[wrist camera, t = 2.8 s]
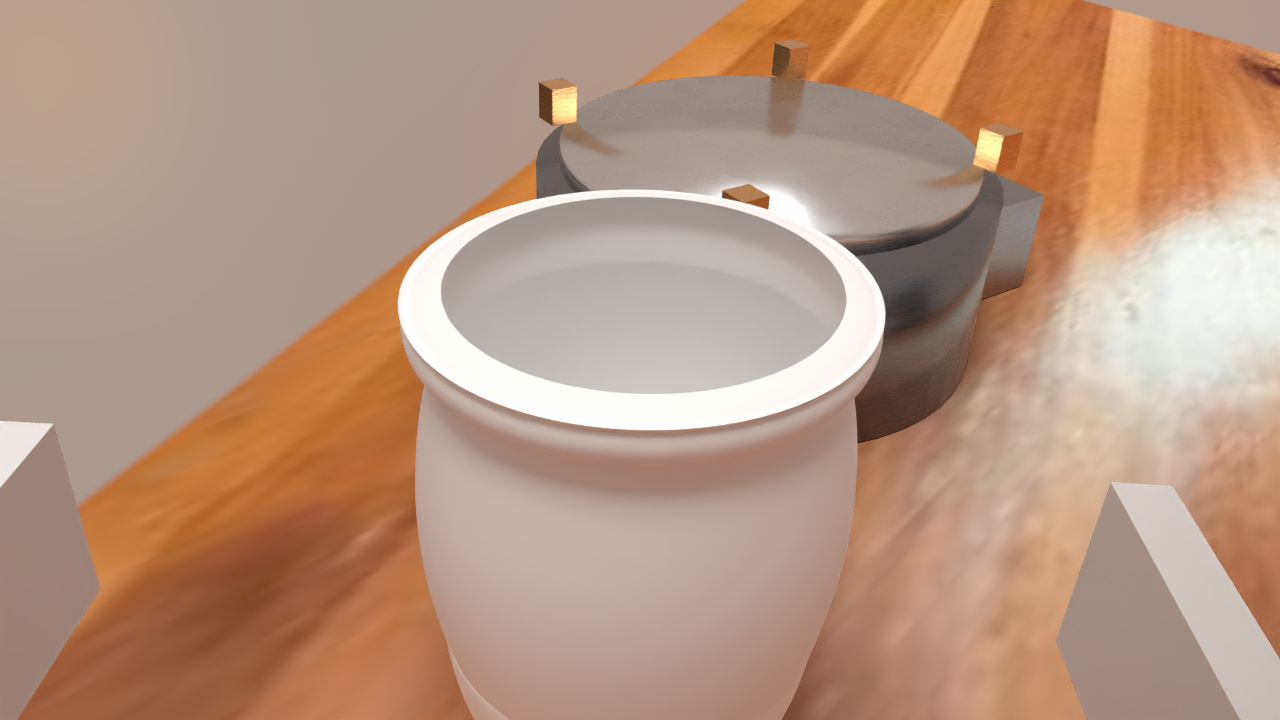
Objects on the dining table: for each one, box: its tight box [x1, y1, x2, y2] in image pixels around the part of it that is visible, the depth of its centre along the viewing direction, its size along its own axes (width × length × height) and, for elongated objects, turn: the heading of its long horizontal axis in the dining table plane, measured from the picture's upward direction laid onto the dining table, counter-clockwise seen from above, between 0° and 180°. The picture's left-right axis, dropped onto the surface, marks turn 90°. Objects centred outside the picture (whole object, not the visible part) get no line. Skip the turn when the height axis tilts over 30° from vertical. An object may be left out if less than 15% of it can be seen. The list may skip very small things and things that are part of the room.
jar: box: [398, 190, 885, 720], centre depth 28 cm, size 11×10×15 cm
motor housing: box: [536, 40, 1044, 443], centre depth 50 cm, size 24×20×11 cm
